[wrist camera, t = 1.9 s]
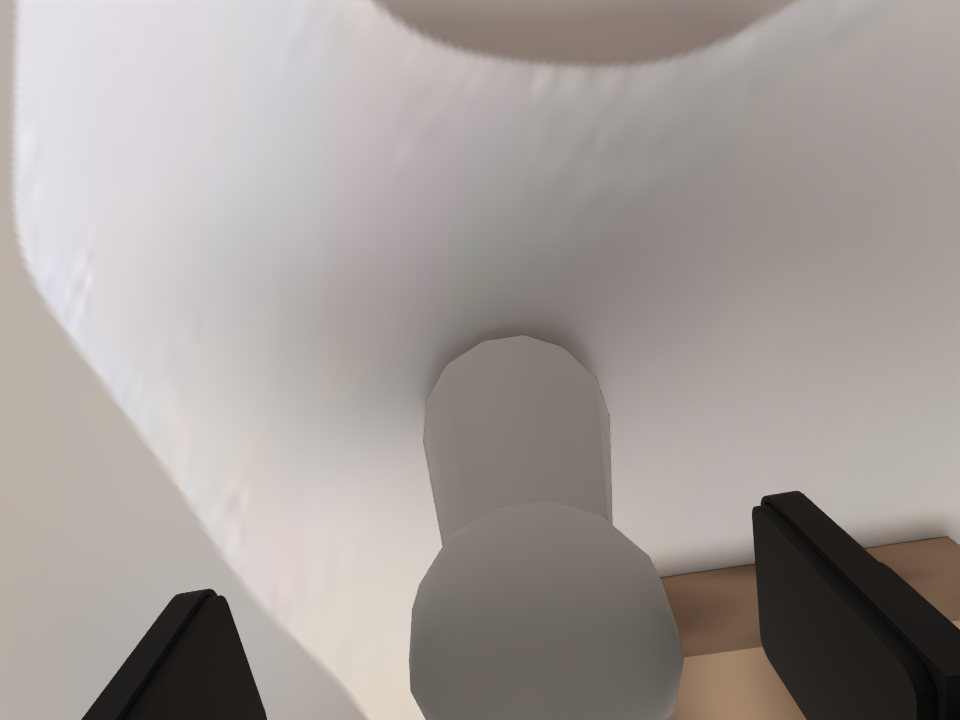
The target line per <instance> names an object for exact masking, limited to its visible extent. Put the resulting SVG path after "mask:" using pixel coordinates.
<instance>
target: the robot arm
mask: <svg viewBox="0 0 960 720" xmlns="http://www.w3.org/2000/svg"><path fill="white" fill-rule="evenodd" d="M752 521H753V536H754V551H755V566H756V581H757V596H758V611H759V626H760V638H761V642H762V646H763V649H764V652H765V654H766V656H767V658H768V660H769V662H770V663H771V665H772V666H773V668H774V670H775V671H776V673H777V674H778V676H779V677H780V679H781V681H782V682H783V684H784V685H785V687H786V688H787V690H788V691H789V693H790V695H791V696H792V698H793V699H794V701H795V702H796V704H797V706H798V707H799V709H800V710H801V712H802V713H803V715H804V717H805V718H806V720H960V629H959V628H958V627H956V626H955V625H954V624H953V623H952V622H951V621H950V620H949V619H947V618H946V617H945V616H944V615H943V614H942V613H941V612H940V611H938V610H937V609H936V608H935V607H934V606H933V605H932V604H930V603H929V602H928V601H927V600H926V599H925V598H924V597H923V596H921V595H920V594H919V593H918V592H917V591H916V590H915V589H914V588H912V587H911V586H910V585H909V584H908V583H907V582H906V581H905V580H903V579H902V578H901V577H900V576H899V575H898V574H897V573H896V572H894V571H893V570H892V569H891V568H890V567H888V566H887V565H885V564H884V563H882V562H878V561H877V560H876V559H875V558H874V557H873V556H872V555H871V554H870V553H868V552H867V551H866V550H865V549H864V548H863V547H862V546H861V545H860V544H858V543H857V542H856V541H855V540H854V539H853V538H852V537H851V536H849V535H848V534H847V533H846V532H845V531H844V530H843V529H842V528H841V527H839V526H838V525H837V524H836V523H835V522H834V521H833V520H832V519H831V518H829V517H828V516H827V515H826V514H825V513H824V512H823V511H822V510H820V509H819V508H818V507H817V506H816V505H815V504H814V503H813V502H812V501H810V500H809V499H808V498H807V497H806V496H805V495H804V494H803V493H801V492H799V491H792V492H786V493H780V494H774V495H768V496H764V497H763V498H762V500H761V506H755V507H754V508H753V510H752ZM82 720H267V717H266V713H265V710H264V707H263V704H262V701H261V698H260V695H259V692H258V689H257V686H256V684H255V681H254V678H253V675H252V672H251V669H250V666H249V663H248V661H247V657H246V655H245V652H244V649H243V646H242V643H241V640H240V637H239V634H238V631H237V628H236V626H235V623H234V620H233V617H232V614H231V611H230V608H229V605H228V602H227V601H226V598H225V597H224V596H221V595H220V596H217V594H216V593H215V591H214V590H212V589H205V590H198V591H192V592H187V593H181V594H177V595H175V596H174V597H173V598H172V600H171V601H170V602H169V604H168V605H167V606H166V608H165V609H164V610H163V612H162V613H161V614H160V616H159V617H158V618H157V620H156V621H155V622H154V624H153V625H152V626H151V628H150V629H149V630H148V632H147V633H146V634H145V636H144V637H143V638H142V640H141V641H140V642H139V644H138V645H137V646H136V648H135V649H134V650H133V652H132V653H131V654H130V656H129V657H128V658H127V660H126V661H125V662H124V664H123V665H122V666H121V668H120V669H119V670H118V672H117V673H116V674H115V676H114V677H113V678H112V680H111V681H110V682H109V684H108V685H107V686H106V688H105V689H104V690H103V692H102V693H101V694H100V696H99V697H98V698H97V700H96V701H95V702H94V704H93V705H92V706H91V708H90V709H89V710H88V712H87V713H86V714H85V716H84V717H83V718H82Z"/></svg>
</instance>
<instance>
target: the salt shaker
mask: <svg viewBox="0 0 960 720" xmlns="http://www.w3.org/2000/svg"><path fill="white" fill-rule="evenodd" d="M423 442H424V448H425V453H426V459H427V464H428V470H429V475H430V481H431V486H432V491H433V497H434V502H435V508H436V513H437V519H438V524H439V530H440V535H441V540H442V546H443V547H442V549H441V550H440V552H439V553H438V555H437V557H436V558H435V560H434V562H433V563H432V565H431V566H430V568H429V570H428V571H427V573H426V575H425V576H424V578H423V579H422V581H421V583H420V584H419V588H418V591H417V595H416V598H415V602H414V605H413V608H412V621H411V637H410V654H409V668H410V687H411V693H412V695H413V697H414V698H415V700H416V702H417V704H418V706H419V708H420V710H421V711H422V713H423V715H424V717H425V719H426V720H667V719H668V718H669V716H670V715H671V714H672V713H673V712H674V711H675V706H676V701H677V695H678V690H679V684H680V679H681V673H682V668H683V662H684V659H683V653H682V648H681V642H680V637H679V631H678V627H677V624H676V621H675V618H674V616H673V613H672V610H671V607H670V604H669V601H668V598H667V596H666V593H665V590H664V587H663V584H662V581H661V579H660V577H659V575H658V573H657V571H656V569H655V567H654V565H653V564H652V562H651V560H650V558H649V556H648V555H647V554H646V553H645V552H643V551H642V550H641V549H640V548H639V547H638V546H636V545H635V544H634V543H633V542H632V541H631V540H629V539H628V538H627V537H626V536H625V535H623V534H622V533H621V532H620V531H619V530H618V529H616V528H615V527H614V526H613V524H612V486H611V447H610V414H609V412H608V409H607V406H606V403H605V400H604V398H603V395H602V392H601V389H600V387H599V384H598V381H597V378H596V377H595V376H594V375H593V374H592V373H591V372H590V371H589V370H588V369H587V368H585V367H584V366H583V365H582V364H581V363H580V362H579V361H578V360H577V359H576V358H575V357H574V356H572V355H571V354H570V353H569V352H568V351H567V350H566V349H565V348H563V347H561V346H558V345H555V344H551V343H548V342H545V341H541V340H538V339H535V338H532V337H528V336H525V335H520V336H513V337H507V338H500V339H494V340H487V341H483V342H481V343H479V344H478V345H476V346H475V347H473V348H472V349H470V350H469V351H467V352H466V353H464V354H463V355H461V356H459V357H458V358H456V359H455V360H453V361H452V362H450V363H449V364H448V365H447V366H445V368H444V370H443V372H442V374H441V375H440V377H439V379H438V381H437V383H436V384H435V386H434V388H433V390H432V392H431V394H430V395H429V397H428V399H427V401H426V409H425V423H424V437H423Z"/></svg>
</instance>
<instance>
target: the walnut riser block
mask: <svg viewBox="0 0 960 720" xmlns="http://www.w3.org/2000/svg"><path fill="white" fill-rule="evenodd" d="M865 550H866V551H867V552H868V553H870V554H871V555H872V556H873V557H874V558H875V559H876V560H877V561H878V562H882V563H884V564H885V565H887V566H888V567H890V568H891V569H892V570H893V571H894V572H896V573H897V574H898V575H899V576H900V577H901V578H902V579H903V580H905V581H906V582H907V583H908V584H909V585H910V586H911V587H912V588H914V589H915V590H916V591H917V592H918V593H919V594H920V595H921V596H923V597H924V598H925V599H926V600H927V601H928V602H929V603H930V604H932V605H933V606H934V607H935V608H936V609H937V610H938V611H940V612H941V613H942V614H943V615H944V616H945V617H946V618H947V619H949V620H950V621H951V622H952V623H953V624H954V625H955V626H956V627H958V628H959V629H960V545H959V544H957V543H956V542H955V541H953V540H952V539H951V538H949V537H942V538H935V539H928V540H921V541H914V542H907V543H900V544H893V545H886V546H879V547H872V548H865ZM660 579H661V581H662V584H663V587H664V590H665V593H666V596H667V598H668V601H669V604H670V607H671V610H672V613H673V616H674V618H675V621H676V624H677V627H678V631H679V637H680V642H681V648H682V653H683V659H684V662H683V668H682V673H681V679H680V684H679V690H678V695H677V701H676V706H675V711H674V712H673V713H672V714H671V715H670V716H669V718H668V719H667V720H806V718H805V717H804V715H803V713H802V712H801V710H800V709H799V707H798V706H797V704H796V702H795V701H794V699H793V698H792V696H791V695H790V693H789V691H788V690H787V688H786V687H785V685H784V684H783V682H782V681H781V679H780V677H779V676H778V674H777V673H776V671H775V670H774V668H773V666H772V665H771V663H770V662H769V660H768V658H767V656H766V654H765V652H764V649H763V646H762V642H761V638H760V626H759V611H758V596H757V581H756V566H755V564H754V565H747V566H740V567H733V568H726V569H719V570H713V571H706V572H699V573H692V574H685V575H678V576H671V577H664V578H660Z"/></svg>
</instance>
